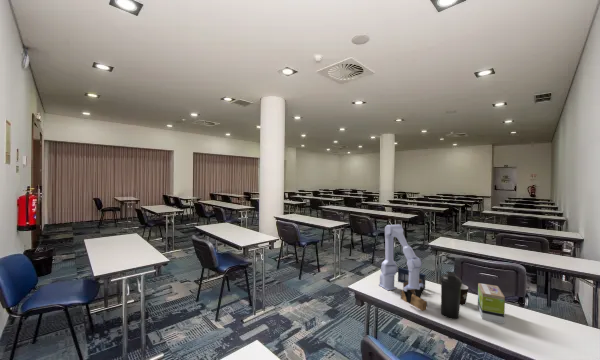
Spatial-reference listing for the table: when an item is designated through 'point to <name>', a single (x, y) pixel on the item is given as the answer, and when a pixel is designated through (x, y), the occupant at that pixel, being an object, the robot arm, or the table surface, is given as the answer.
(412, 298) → the rail
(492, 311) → the tea box
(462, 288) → the coffee mug
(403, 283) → the headboard
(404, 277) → the vhs cassette tape
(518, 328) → the table surface
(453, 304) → the water bottle
